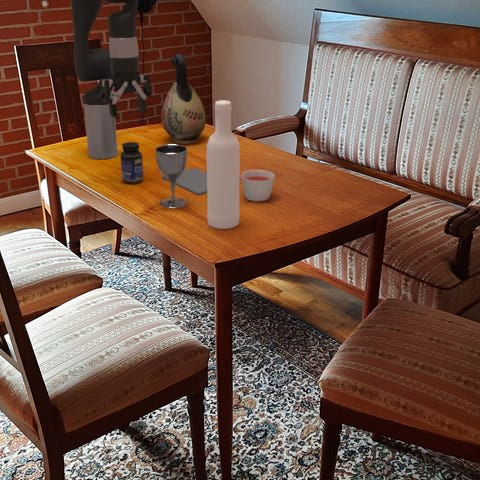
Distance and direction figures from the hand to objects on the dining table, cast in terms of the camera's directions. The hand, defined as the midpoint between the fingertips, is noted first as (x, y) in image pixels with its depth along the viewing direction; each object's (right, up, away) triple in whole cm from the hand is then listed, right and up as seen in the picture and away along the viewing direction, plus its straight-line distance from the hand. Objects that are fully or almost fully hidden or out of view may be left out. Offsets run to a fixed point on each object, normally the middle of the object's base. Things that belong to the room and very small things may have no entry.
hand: (128, 114), depth 172 cm
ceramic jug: (+12, 0, +45) cm, 47 cm away
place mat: (+18, -18, +8) cm, 27 cm away
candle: (+36, -23, -2) cm, 43 cm away
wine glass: (+13, -25, -7) cm, 29 cm away
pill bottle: (0, -18, +8) cm, 20 cm away
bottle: (+27, -31, -18) cm, 45 cm away
